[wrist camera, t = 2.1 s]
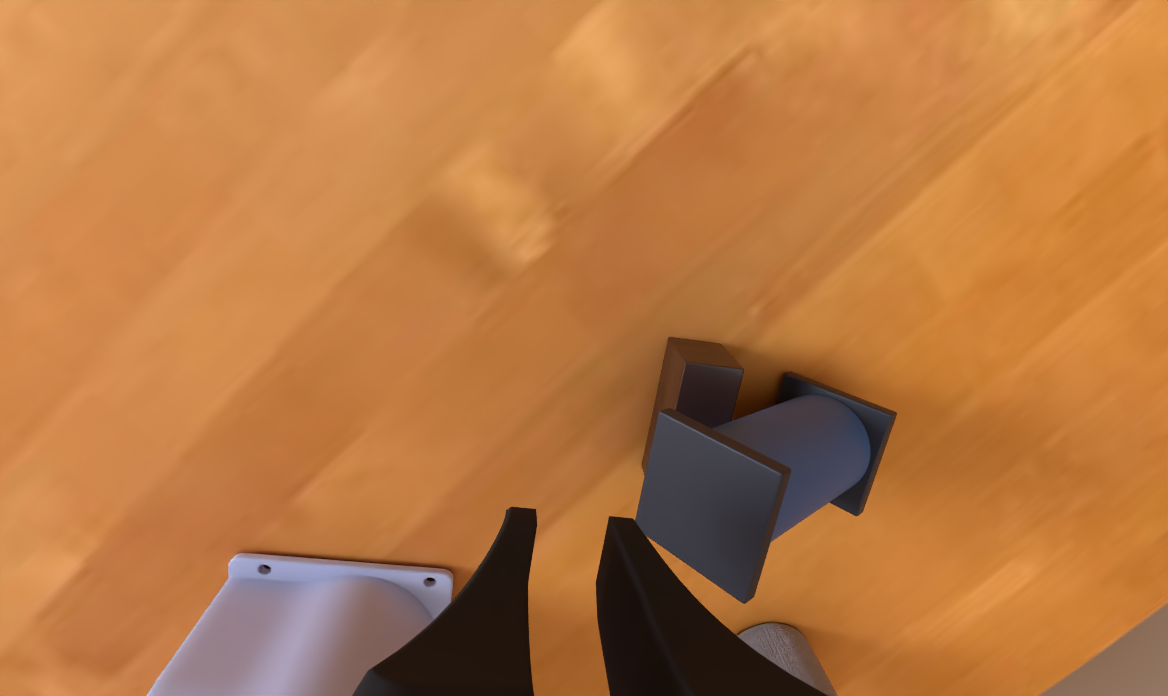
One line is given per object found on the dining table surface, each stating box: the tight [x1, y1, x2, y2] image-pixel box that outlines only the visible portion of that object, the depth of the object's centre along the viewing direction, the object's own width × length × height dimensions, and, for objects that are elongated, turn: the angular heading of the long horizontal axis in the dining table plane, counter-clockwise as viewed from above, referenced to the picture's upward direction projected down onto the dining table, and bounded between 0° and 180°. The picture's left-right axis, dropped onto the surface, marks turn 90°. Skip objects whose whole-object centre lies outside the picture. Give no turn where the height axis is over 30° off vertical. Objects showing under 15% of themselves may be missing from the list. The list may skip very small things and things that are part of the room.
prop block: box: [642, 337, 744, 475], centre depth 24 cm, size 2×6×3 cm, turn 171°
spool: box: [635, 372, 897, 604], centre depth 21 cm, size 10×4×9 cm, turn 81°
